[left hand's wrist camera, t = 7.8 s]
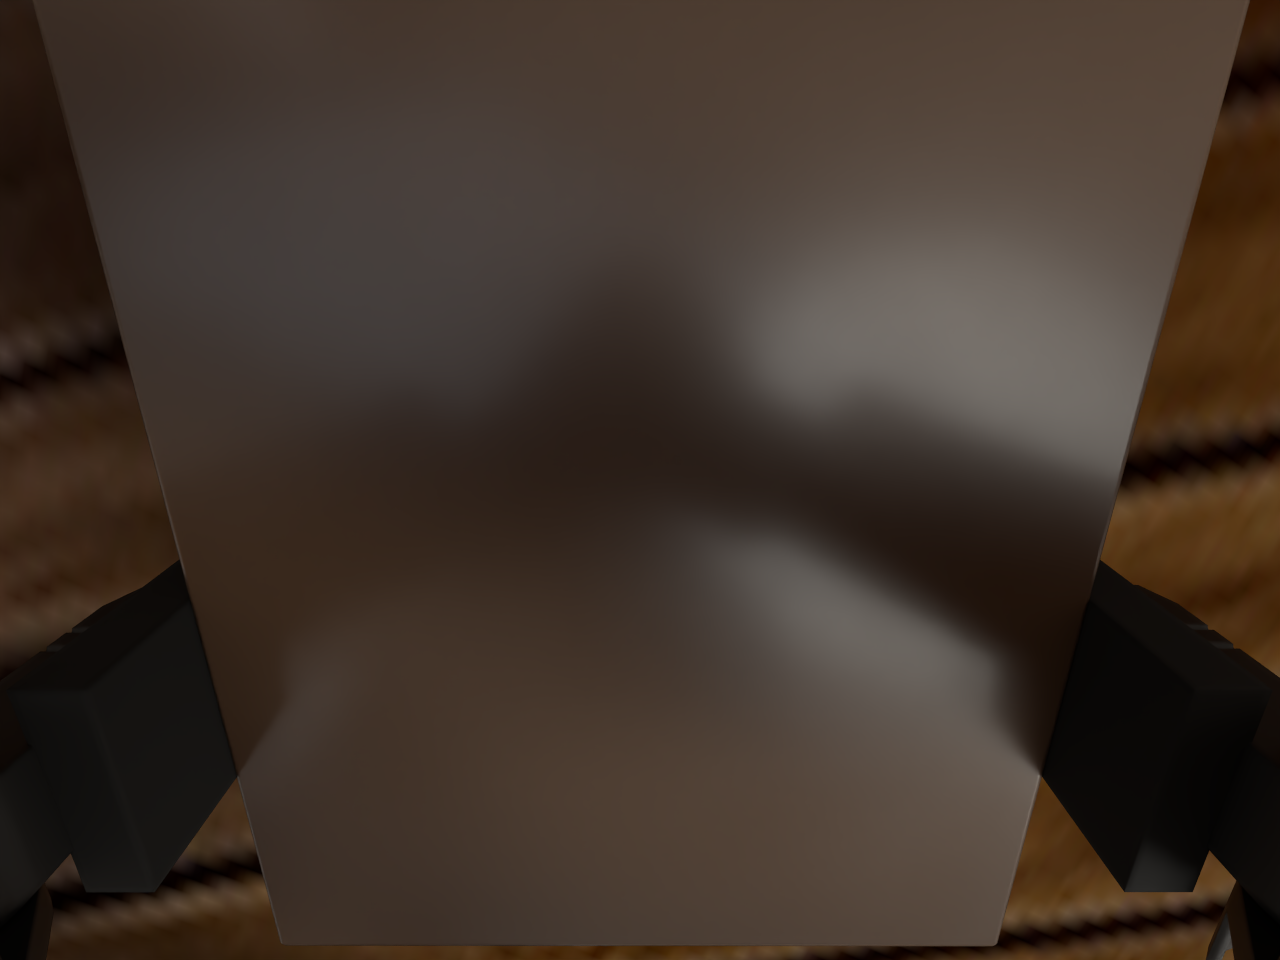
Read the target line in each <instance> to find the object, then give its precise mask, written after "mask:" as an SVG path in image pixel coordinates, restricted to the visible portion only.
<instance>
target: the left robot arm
mask: <svg viewBox="0 0 1280 960" xmlns="http://www.w3.org/2000/svg"><path fill="white" fill-rule="evenodd" d="M1207 627H1208V625H1206V624H1205V623H1204V622H1202V621H1201V620H1199V619H1198V618H1197V617H1195V616H1194V615H1193V614H1191V613H1190V612H1188V611H1187V610H1186V609H1184V608H1183V607H1181V606H1180V605H1179V604H1177V603H1175V602H1173V601H1171V600H1169V599H1167V598H1164V597H1162V596H1160V595H1158V594H1156V593H1154V592H1152V591H1149V590H1147V589H1145V588H1143V587H1141V586H1139V585H1133V584H1131V583H1130V582H1129V581H1128V580H1126V579H1125V578H1124V577H1122V576H1121V575H1120V574H1118V573H1117V572H1116V571H1114V570H1113V569H1112V568H1110V567H1109V566H1108V565H1106V564H1105V563H1104V562H1102V561H1101V560H1100V561H1099V565H1098V568H1097V572H1096V576H1095V580H1094V583H1093V587H1092V591H1091V595H1090V598H1089V602H1088V606H1087V609H1086V613H1085V617H1084V621H1083V624H1082V628H1081V632H1080V636H1079V639H1078V643H1077V647H1076V651H1075V654H1074V658H1073V662H1072V665H1071V669H1070V673H1069V677H1068V680H1067V684H1066V688H1065V692H1064V695H1063V699H1062V703H1061V706H1060V710H1059V714H1058V718H1057V721H1056V725H1055V729H1054V733H1053V736H1052V740H1051V744H1050V747H1049V751H1048V755H1047V759H1046V762H1045V766H1044V770H1043V774H1042V777H1043V778H1044V780H1045V781H1046V783H1047V784H1048V785H1049V787H1050V788H1051V790H1052V791H1053V792H1054V794H1055V795H1056V797H1057V798H1058V799H1059V801H1060V802H1061V804H1062V805H1063V806H1064V808H1065V809H1066V811H1067V812H1068V813H1069V815H1070V816H1071V818H1072V819H1073V820H1074V822H1075V823H1076V825H1077V826H1078V827H1079V829H1080V830H1081V832H1082V833H1083V834H1084V836H1085V837H1086V839H1087V840H1088V841H1089V843H1090V844H1091V846H1092V847H1093V848H1094V850H1095V851H1096V853H1097V854H1098V855H1099V857H1100V858H1101V860H1102V861H1103V862H1104V864H1105V865H1106V867H1107V868H1108V869H1109V871H1110V872H1111V874H1112V875H1113V876H1114V878H1115V879H1116V881H1117V882H1118V883H1119V885H1120V886H1121V888H1122V889H1123V891H1124V892H1193V890H1194V887H1195V885H1196V882H1197V880H1198V877H1199V875H1200V872H1201V870H1202V867H1203V865H1204V862H1205V860H1206V857H1207V855H1208V852H1209V850H1210V851H1211V852H1212V853H1213V855H1214V856H1215V857H1216V858H1217V859H1218V860H1219V861H1220V862H1221V864H1222V865H1223V866H1224V867H1225V868H1226V869H1227V870H1228V871H1229V872H1230V874H1231V875H1232V876H1233V877H1234V878H1235V879H1236V880H1237V881H1236V883H1235V885H1234V888H1233V890H1232V892H1231V895H1230V897H1229V899H1228V902H1227V904H1226V906H1225V909H1224V911H1223V913H1222V916H1221V918H1220V921H1219V923H1218V925H1217V928H1216V930H1215V932H1214V935H1213V937H1212V939H1211V942H1210V944H1209V947H1208V952H1207V957H1206V960H1222V958H1223V955H1224V953H1225V951H1226V950H1229V949H1231V948H1233V954H1234V960H1280V678H1279V677H1278V676H1277V675H1275V674H1274V673H1272V672H1271V671H1270V670H1268V669H1267V668H1266V667H1264V666H1263V665H1261V664H1260V663H1259V662H1257V661H1256V660H1254V659H1253V658H1252V657H1250V656H1249V655H1248V654H1246V653H1245V652H1243V651H1242V650H1241V649H1234V648H1233V644H1232V643H1231V642H1230V641H1228V640H1227V639H1226V638H1224V637H1223V636H1221V635H1220V634H1219V633H1217V632H1216V631H1215V630H1208V628H1207ZM236 777H237V775H236V771H235V767H234V763H233V760H232V756H231V752H230V748H229V745H228V741H227V737H226V733H225V729H224V726H223V722H222V718H221V714H220V710H219V707H218V703H217V699H216V695H215V691H214V688H213V684H212V680H211V676H210V673H209V669H208V665H207V661H206V657H205V654H204V650H203V646H202V642H201V638H200V635H199V631H198V627H197V623H196V619H195V616H194V612H193V608H192V604H191V601H190V597H189V593H188V589H187V585H186V582H185V578H184V574H183V570H182V566H181V563H180V560H178V561H177V562H176V563H174V564H173V565H172V566H170V567H169V568H168V569H166V570H165V571H164V572H162V573H161V574H160V575H158V576H157V577H156V578H154V579H153V580H152V581H150V582H149V583H148V584H146V585H145V586H144V587H142V588H140V589H138V590H136V591H134V592H132V593H130V594H127V595H125V596H123V597H121V598H119V599H117V600H115V601H113V602H110V603H108V604H106V605H104V606H102V607H101V608H99V609H98V610H97V611H95V612H94V613H92V614H91V615H90V616H88V617H87V618H86V619H84V620H83V621H82V622H80V623H79V624H77V625H76V626H75V627H73V628H72V633H65V634H64V635H62V636H61V637H60V638H58V639H57V640H56V641H54V642H53V643H51V644H50V645H49V646H47V651H46V652H39V653H38V654H36V655H35V656H34V657H32V658H31V659H30V660H28V661H27V662H26V663H24V664H23V665H21V666H20V667H19V668H17V669H16V670H15V671H13V672H12V673H10V674H9V675H8V676H6V677H5V678H4V679H2V680H1V681H0V960H46V956H47V950H48V944H49V938H50V932H51V925H52V919H53V907H52V901H51V897H50V895H49V892H48V890H47V888H46V885H45V883H44V882H45V881H46V880H47V879H48V878H49V877H50V876H51V875H52V873H53V872H54V871H55V870H56V869H57V868H58V867H59V866H60V864H61V863H62V862H63V861H64V860H65V859H66V858H67V857H68V855H69V854H70V853H71V855H72V857H73V860H74V862H75V865H76V867H77V870H78V872H79V875H80V877H81V880H82V882H83V885H84V887H85V890H86V892H155V891H156V889H157V888H158V887H159V885H160V884H161V882H162V881H163V880H164V878H165V877H166V875H167V874H168V873H169V871H170V870H171V868H172V867H173V866H174V864H175V863H176V861H177V860H178V859H179V857H180V856H181V854H182V853H183V852H184V850H185V849H186V847H187V846H188V845H189V843H190V842H191V840H192V839H193V838H194V836H195V835H196V833H197V832H198V831H199V829H200V828H201V826H202V825H203V824H204V822H205V821H206V819H207V818H208V817H209V815H210V814H211V812H212V811H213V810H214V808H215V807H216V805H217V804H218V803H219V801H220V800H221V798H222V797H223V796H224V794H225V793H226V791H227V790H228V789H229V787H230V786H231V784H232V783H233V782H234V780H235V779H236Z"/></svg>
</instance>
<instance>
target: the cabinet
mask: <svg viewBox="0 0 1280 960" xmlns="http://www.w3.org/2000/svg"><path fill="white" fill-rule="evenodd" d="M32 2H33V6H34V9H35V13H36V17H37V21H38V25H39V28H40V32H41V36H42V40H43V43H44V47H45V51H46V55H47V59H48V62H49V66H50V70H51V74H52V78H53V81H54V85H55V89H56V93H57V97H58V100H59V104H60V108H61V112H62V115H63V119H64V123H65V127H66V131H67V134H68V138H69V142H70V146H71V150H72V153H73V157H74V161H75V165H76V169H77V172H78V176H79V180H80V184H81V187H82V191H83V195H84V199H85V203H86V206H87V210H88V214H89V218H90V222H91V225H92V229H93V233H94V237H95V241H96V244H97V248H98V252H99V256H100V259H101V263H102V267H103V271H104V275H105V278H106V282H107V286H108V290H109V294H110V297H111V301H112V305H113V309H114V313H115V316H116V320H117V324H118V328H119V331H120V335H121V339H122V343H123V347H124V350H125V354H126V358H127V362H128V366H129V369H130V373H131V377H132V381H133V385H134V388H135V392H136V396H137V400H138V403H139V407H140V411H141V415H142V419H143V422H144V426H145V430H146V434H147V438H148V441H149V445H150V449H151V453H152V457H153V460H154V464H155V468H156V472H157V475H158V479H159V483H160V487H161V491H162V494H163V498H164V502H165V506H166V510H167V513H168V517H169V521H170V525H171V529H172V532H173V536H174V540H175V544H176V547H177V551H178V555H179V559H180V563H181V566H182V570H183V574H184V578H185V582H186V585H187V589H188V593H189V597H190V601H191V604H192V608H193V612H194V616H195V619H196V623H197V627H198V631H199V635H200V638H201V642H202V646H203V650H204V654H205V657H206V661H207V665H208V669H209V673H210V676H211V680H212V684H213V688H214V691H215V695H216V699H217V703H218V707H219V710H220V714H221V718H222V722H223V726H224V729H225V733H226V737H227V741H228V745H229V748H230V752H231V756H232V760H233V763H234V767H235V771H236V775H237V779H238V782H239V786H240V790H241V794H242V798H243V801H244V805H245V809H246V813H247V817H248V820H249V824H250V828H251V832H252V835H253V839H254V843H255V847H256V851H257V854H258V858H259V862H260V866H261V870H262V873H263V877H264V881H265V885H266V889H267V892H268V896H269V900H270V904H271V907H272V911H273V915H274V919H275V923H276V926H277V930H278V934H279V938H280V942H281V943H282V944H284V945H384V946H993V945H996V944H997V941H998V938H999V934H1000V930H1001V927H1002V923H1003V919H1004V915H1005V912H1006V908H1007V904H1008V900H1009V897H1010V893H1011V889H1012V885H1013V882H1014V878H1015V874H1016V871H1017V867H1018V863H1019V859H1020V856H1021V852H1022V848H1023V844H1024V841H1025V837H1026V833H1027V830H1028V826H1029V822H1030V818H1031V815H1032V811H1033V807H1034V803H1035V800H1036V796H1037V792H1038V789H1039V785H1040V781H1041V777H1042V774H1043V770H1044V766H1045V762H1046V759H1047V755H1048V751H1049V747H1050V744H1051V740H1052V736H1053V733H1054V729H1055V725H1056V721H1057V718H1058V714H1059V710H1060V706H1061V703H1062V699H1063V695H1064V692H1065V688H1066V684H1067V680H1068V677H1069V673H1070V669H1071V665H1072V662H1073V658H1074V654H1075V651H1076V647H1077V643H1078V639H1079V636H1080V632H1081V628H1082V624H1083V621H1084V617H1085V613H1086V609H1087V606H1088V602H1089V598H1090V595H1091V591H1092V587H1093V583H1094V580H1095V576H1096V572H1097V568H1098V565H1099V561H1100V557H1101V554H1102V550H1103V546H1104V542H1105V539H1106V535H1107V531H1108V527H1109V524H1110V520H1111V516H1112V513H1113V509H1114V505H1115V501H1116V498H1117V494H1118V490H1119V486H1120V483H1121V479H1122V475H1123V472H1124V468H1125V464H1126V460H1127V457H1128V453H1129V449H1130V445H1131V442H1132V438H1133V434H1134V430H1135V427H1136V423H1137V419H1138V416H1139V412H1140V408H1141V404H1142V401H1143V397H1144V393H1145V389H1146V386H1147V382H1148V378H1149V375H1150V371H1151V367H1152V363H1153V360H1154V356H1155V352H1156V348H1157V345H1158V341H1159V337H1160V334H1161V330H1162V326H1163V322H1164V319H1165V315H1166V311H1167V307H1168V304H1169V300H1170V296H1171V292H1172V289H1173V285H1174V281H1175V278H1176V274H1177V270H1178V266H1179V263H1180V259H1181V255H1182V251H1183V248H1184V244H1185V240H1186V237H1187V233H1188V229H1189V225H1190V222H1191V218H1192V214H1193V210H1194V207H1195V203H1196V199H1197V196H1198V192H1199V188H1200V184H1201V181H1202V177H1203V173H1204V169H1205V166H1206V162H1207V158H1208V154H1209V151H1210V147H1211V143H1212V140H1213V136H1214V132H1215V128H1216V125H1217V121H1218V117H1219V113H1220V110H1221V106H1222V102H1223V99H1224V95H1225V91H1226V87H1227V84H1228V80H1229V76H1230V72H1231V69H1232V65H1233V61H1234V58H1235V54H1236V50H1237V46H1238V43H1239V39H1240V35H1241V31H1242V28H1243V24H1244V20H1245V16H1246V13H1247V9H1248V5H1249V2H1250V0H32Z"/></svg>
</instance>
